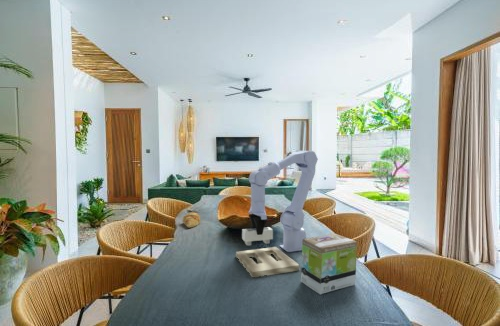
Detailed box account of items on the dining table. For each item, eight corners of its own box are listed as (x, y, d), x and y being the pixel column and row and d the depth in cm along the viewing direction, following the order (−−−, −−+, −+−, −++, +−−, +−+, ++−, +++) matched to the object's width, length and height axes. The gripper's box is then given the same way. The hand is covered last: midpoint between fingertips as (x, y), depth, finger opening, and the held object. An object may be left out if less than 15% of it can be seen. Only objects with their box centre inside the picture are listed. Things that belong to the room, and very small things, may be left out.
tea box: (321, 296, 84) (321, 247, 84) (300, 282, 93) (300, 238, 93) (356, 285, 91) (357, 240, 91) (334, 273, 100) (335, 232, 99)
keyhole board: (276, 251, 121) (276, 246, 121) (299, 270, 102) (299, 264, 102) (235, 256, 115) (235, 251, 115) (252, 277, 96) (252, 272, 96)
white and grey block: (268, 240, 120) (269, 226, 120) (272, 243, 116) (272, 228, 116) (242, 243, 116) (242, 228, 116) (244, 246, 112) (245, 231, 112)
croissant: (194, 235, 155) (201, 222, 155) (177, 227, 154) (184, 214, 154) (197, 224, 176) (203, 212, 176) (183, 216, 175) (189, 205, 175)
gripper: (243, 197, 121) (243, 228, 122) (254, 204, 107) (254, 239, 108) (258, 196, 123) (258, 227, 124) (271, 202, 110) (271, 237, 110)
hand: (257, 232), depth 116 cm, fingers closed on white and grey block, 4 cm apart
